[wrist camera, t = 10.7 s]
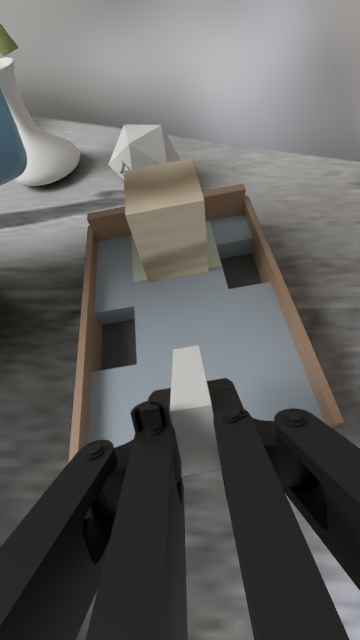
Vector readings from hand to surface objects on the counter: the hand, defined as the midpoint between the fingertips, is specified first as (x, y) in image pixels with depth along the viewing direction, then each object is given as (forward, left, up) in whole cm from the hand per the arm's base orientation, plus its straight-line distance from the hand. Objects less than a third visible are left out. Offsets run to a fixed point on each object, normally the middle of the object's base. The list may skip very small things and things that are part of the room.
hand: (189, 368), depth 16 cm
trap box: (+4, +7, -8) cm, 12 cm away
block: (+8, +13, -6) cm, 16 cm away
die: (+14, +28, -8) cm, 33 cm away
